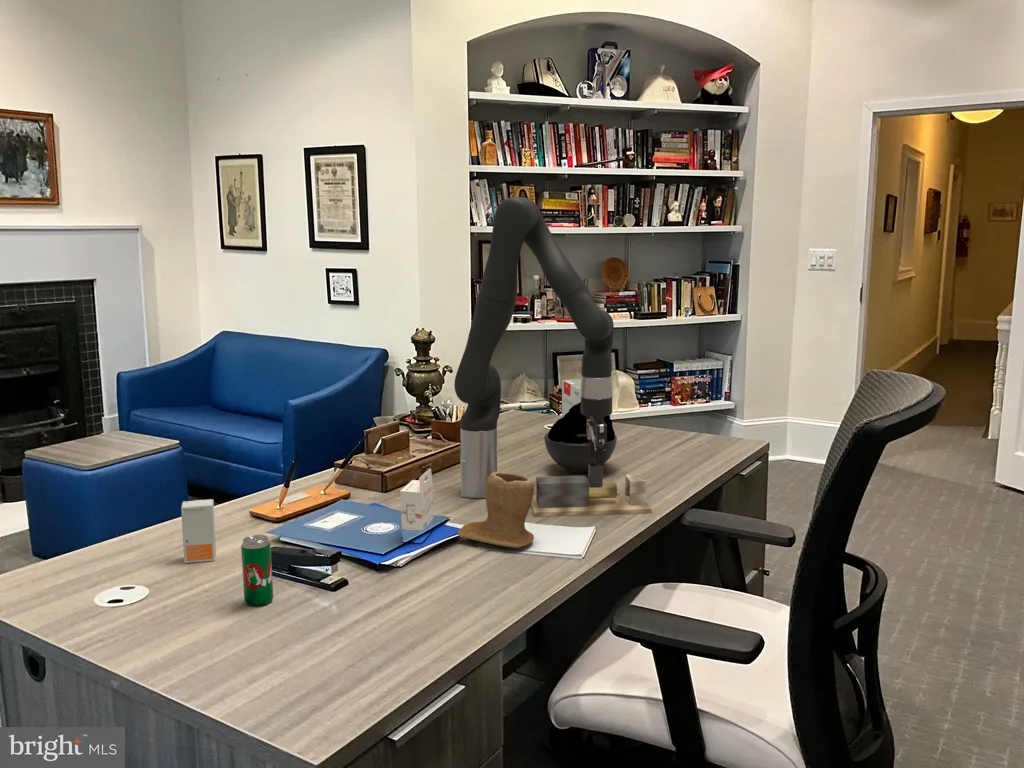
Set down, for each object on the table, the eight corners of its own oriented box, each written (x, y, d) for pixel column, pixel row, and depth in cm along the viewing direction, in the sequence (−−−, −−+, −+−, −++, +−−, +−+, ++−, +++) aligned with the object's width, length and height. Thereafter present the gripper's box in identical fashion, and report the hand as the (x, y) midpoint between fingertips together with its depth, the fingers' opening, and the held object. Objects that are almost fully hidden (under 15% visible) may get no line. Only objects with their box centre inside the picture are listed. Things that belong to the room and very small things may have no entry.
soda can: (262, 593, 159) (259, 531, 157) (279, 600, 156) (275, 537, 154) (238, 602, 155) (234, 539, 153) (255, 610, 152) (251, 545, 150)
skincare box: (184, 564, 173) (179, 507, 171) (186, 556, 177) (182, 501, 175) (215, 561, 175) (212, 504, 173) (217, 553, 179) (213, 498, 177)
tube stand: (534, 516, 202) (534, 487, 200) (528, 500, 213) (528, 473, 212) (651, 513, 204) (652, 484, 203) (639, 497, 216) (640, 470, 215)
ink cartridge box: (413, 529, 193) (411, 466, 191) (434, 531, 192) (433, 467, 190) (400, 542, 185) (398, 477, 182) (422, 544, 184) (421, 478, 181)
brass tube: (546, 502, 206) (547, 468, 204) (544, 497, 209) (545, 463, 208) (616, 500, 207) (617, 466, 206) (613, 495, 211) (614, 462, 209)
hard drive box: (560, 441, 274) (561, 379, 270) (583, 439, 276) (583, 378, 272) (578, 453, 259) (579, 388, 255) (602, 451, 261) (603, 386, 258)
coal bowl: (591, 486, 226) (592, 416, 222) (529, 473, 238) (530, 406, 234) (629, 469, 241) (630, 403, 238) (569, 458, 253) (570, 395, 250)
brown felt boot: (544, 538, 188) (544, 471, 185) (518, 556, 178) (518, 486, 175) (484, 526, 195) (484, 462, 192) (456, 543, 185) (455, 476, 182)
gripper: (576, 389, 211) (576, 454, 213) (585, 400, 197) (585, 469, 199) (606, 389, 211) (606, 453, 214) (618, 399, 197) (617, 468, 200)
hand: (596, 460), depth 207 cm, fingers open, 8 cm apart
